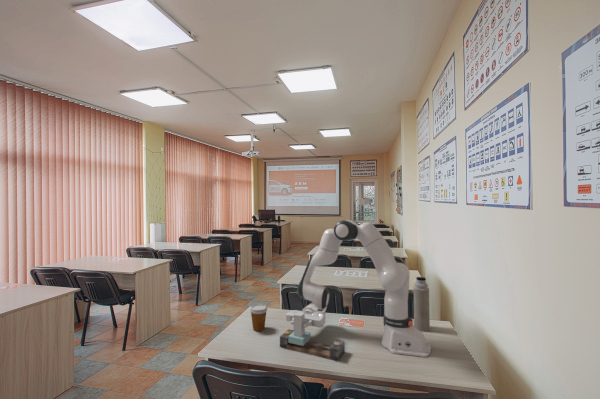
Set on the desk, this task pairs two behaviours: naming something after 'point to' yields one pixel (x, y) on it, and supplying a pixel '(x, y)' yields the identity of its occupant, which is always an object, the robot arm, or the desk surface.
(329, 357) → the rail
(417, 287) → the thermos bottle
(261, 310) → the disposable coffee cup
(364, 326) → the desk surface
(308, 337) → the block
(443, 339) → the desk surface
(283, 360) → the desk surface
